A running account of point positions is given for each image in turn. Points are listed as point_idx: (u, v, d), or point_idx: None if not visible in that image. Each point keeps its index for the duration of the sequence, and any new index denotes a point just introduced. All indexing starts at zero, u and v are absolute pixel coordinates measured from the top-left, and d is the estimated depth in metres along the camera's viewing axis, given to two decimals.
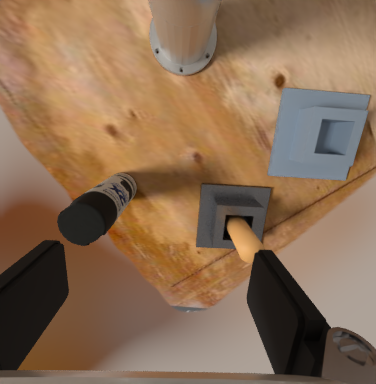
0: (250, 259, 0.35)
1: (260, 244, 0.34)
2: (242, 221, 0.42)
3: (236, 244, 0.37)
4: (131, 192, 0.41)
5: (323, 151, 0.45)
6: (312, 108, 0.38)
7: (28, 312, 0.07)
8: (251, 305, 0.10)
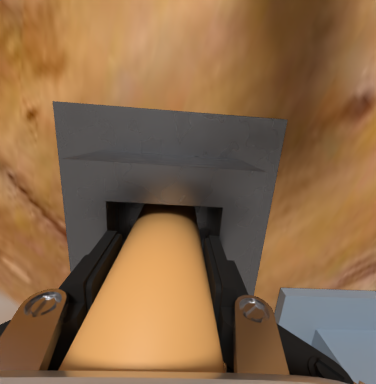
0: None
1: None
2: None
3: (141, 365, 0.04)
4: None
5: None
6: None
7: None
8: None
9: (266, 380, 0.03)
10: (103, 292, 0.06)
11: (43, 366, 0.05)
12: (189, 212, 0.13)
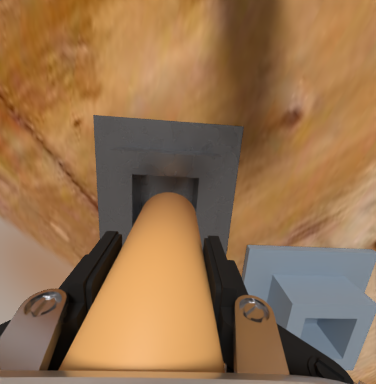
0: None
1: None
2: None
3: (141, 364, 0.04)
4: None
5: None
6: (372, 301, 0.24)
7: None
8: None
9: (266, 380, 0.03)
10: (103, 292, 0.06)
11: (43, 366, 0.05)
12: (189, 212, 0.13)
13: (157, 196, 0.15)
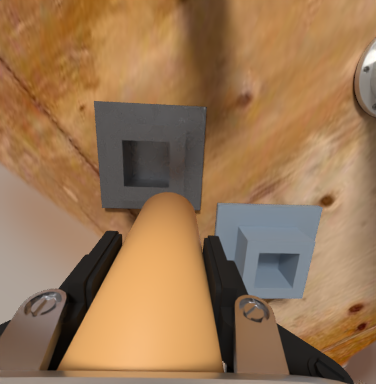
0: None
1: None
2: None
3: (139, 365, 0.04)
4: None
5: None
6: (311, 240, 0.31)
7: None
8: None
9: (266, 380, 0.03)
10: (102, 292, 0.06)
11: (43, 366, 0.05)
12: (188, 212, 0.13)
13: (157, 196, 0.15)
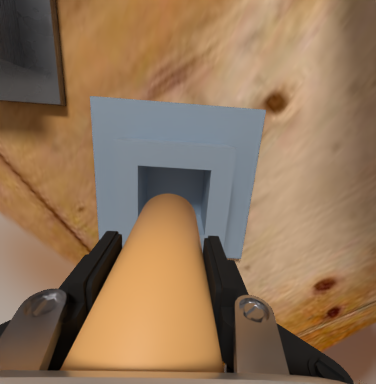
0: None
1: None
2: None
3: (140, 370, 0.04)
4: None
5: None
6: None
7: None
8: None
9: (266, 380, 0.03)
10: (103, 295, 0.06)
11: (43, 366, 0.05)
12: (189, 213, 0.13)
13: (157, 197, 0.15)
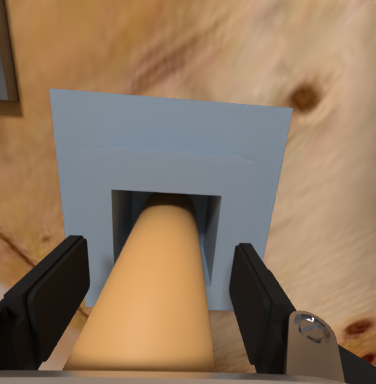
0: None
1: None
2: None
3: (145, 324, 0.05)
4: None
5: None
6: (252, 162, 0.12)
7: (60, 300, 0.08)
8: (232, 295, 0.10)
9: (266, 380, 0.03)
10: (114, 274, 0.08)
11: None
12: (188, 207, 0.14)
13: (159, 192, 0.16)
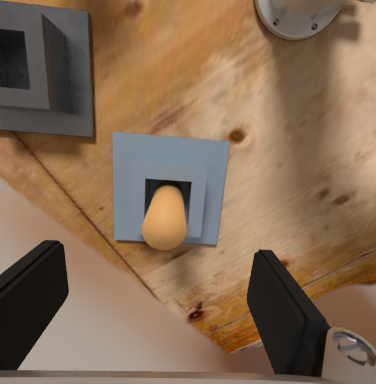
0: (148, 229, 0.20)
1: (178, 242, 0.20)
2: None
3: (167, 202, 0.21)
4: None
5: None
6: (205, 167, 0.28)
7: (28, 312, 0.07)
8: (251, 305, 0.10)
9: (266, 380, 0.03)
10: (153, 200, 0.24)
11: None
12: (178, 187, 0.31)
13: (164, 181, 0.32)
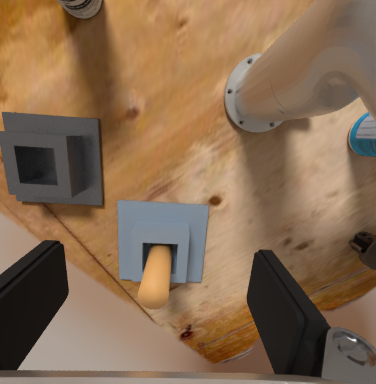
0: (142, 296, 0.29)
1: (163, 304, 0.29)
2: None
3: (155, 274, 0.30)
4: None
5: (148, 252, 0.43)
6: (187, 233, 0.37)
7: (28, 312, 0.07)
8: (251, 305, 0.10)
9: (266, 380, 0.03)
10: (147, 267, 0.33)
11: None
12: (168, 244, 0.39)
13: None
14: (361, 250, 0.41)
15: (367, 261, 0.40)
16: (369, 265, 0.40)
